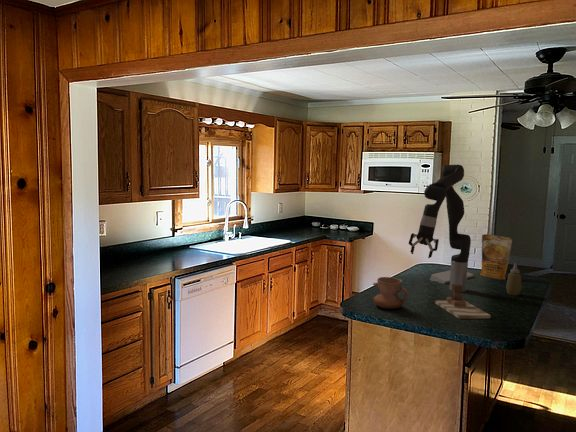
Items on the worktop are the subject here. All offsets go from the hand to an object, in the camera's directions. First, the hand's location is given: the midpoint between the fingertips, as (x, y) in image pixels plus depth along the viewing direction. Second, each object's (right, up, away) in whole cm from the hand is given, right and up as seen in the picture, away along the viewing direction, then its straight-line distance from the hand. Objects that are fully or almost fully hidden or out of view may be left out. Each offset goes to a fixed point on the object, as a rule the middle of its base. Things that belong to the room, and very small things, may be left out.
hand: (420, 255), depth 250 cm
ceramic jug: (-17, -26, -3) cm, 31 cm away
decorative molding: (+38, -21, +66) cm, 80 cm away
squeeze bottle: (+62, -25, +31) cm, 74 cm away
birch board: (+19, -27, -4) cm, 33 cm away
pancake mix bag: (+68, -21, +75) cm, 104 cm away
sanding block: (+19, -25, +1) cm, 31 cm away
